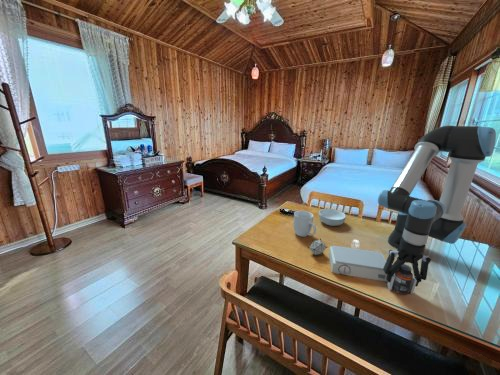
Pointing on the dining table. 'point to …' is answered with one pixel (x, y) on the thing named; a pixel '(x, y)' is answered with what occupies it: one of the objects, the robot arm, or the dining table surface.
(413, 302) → the dining table surface
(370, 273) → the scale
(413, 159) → the robot arm
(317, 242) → the game die
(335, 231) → the dining table surface
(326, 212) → the cereal bowl
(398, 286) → the supplement bottle
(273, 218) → the dining table surface
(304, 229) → the mug
